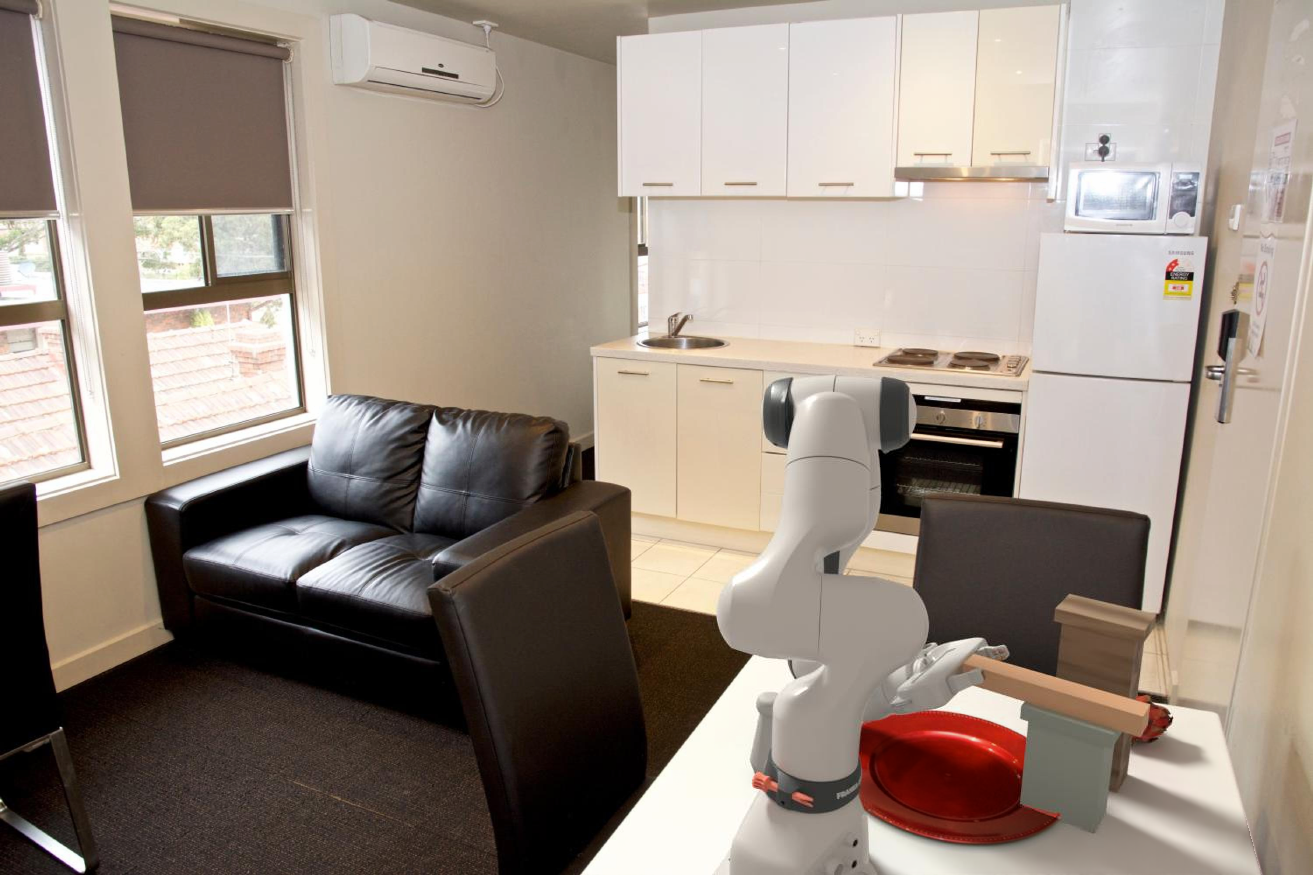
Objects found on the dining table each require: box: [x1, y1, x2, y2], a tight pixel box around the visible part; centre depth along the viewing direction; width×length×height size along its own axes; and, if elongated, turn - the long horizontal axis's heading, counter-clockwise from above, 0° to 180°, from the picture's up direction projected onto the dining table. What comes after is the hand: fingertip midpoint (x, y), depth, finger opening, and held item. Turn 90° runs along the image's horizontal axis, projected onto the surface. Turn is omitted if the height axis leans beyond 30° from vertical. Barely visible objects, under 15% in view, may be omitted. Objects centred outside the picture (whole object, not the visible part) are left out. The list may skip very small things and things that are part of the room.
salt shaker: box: [749, 691, 779, 775], centre depth 142 cm, size 6×6×13 cm
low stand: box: [1019, 701, 1122, 834], centre depth 133 cm, size 7×12×16 cm, turn 51°
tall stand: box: [1053, 593, 1157, 793], centre depth 141 cm, size 7×12×26 cm, turn 51°
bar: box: [962, 654, 1150, 737], centre depth 133 cm, size 4×24×3 cm, turn 51°
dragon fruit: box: [1131, 694, 1174, 745], centre depth 153 cm, size 8×8×12 cm
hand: (994, 663), depth 138 cm, fingers open, 8 cm apart
